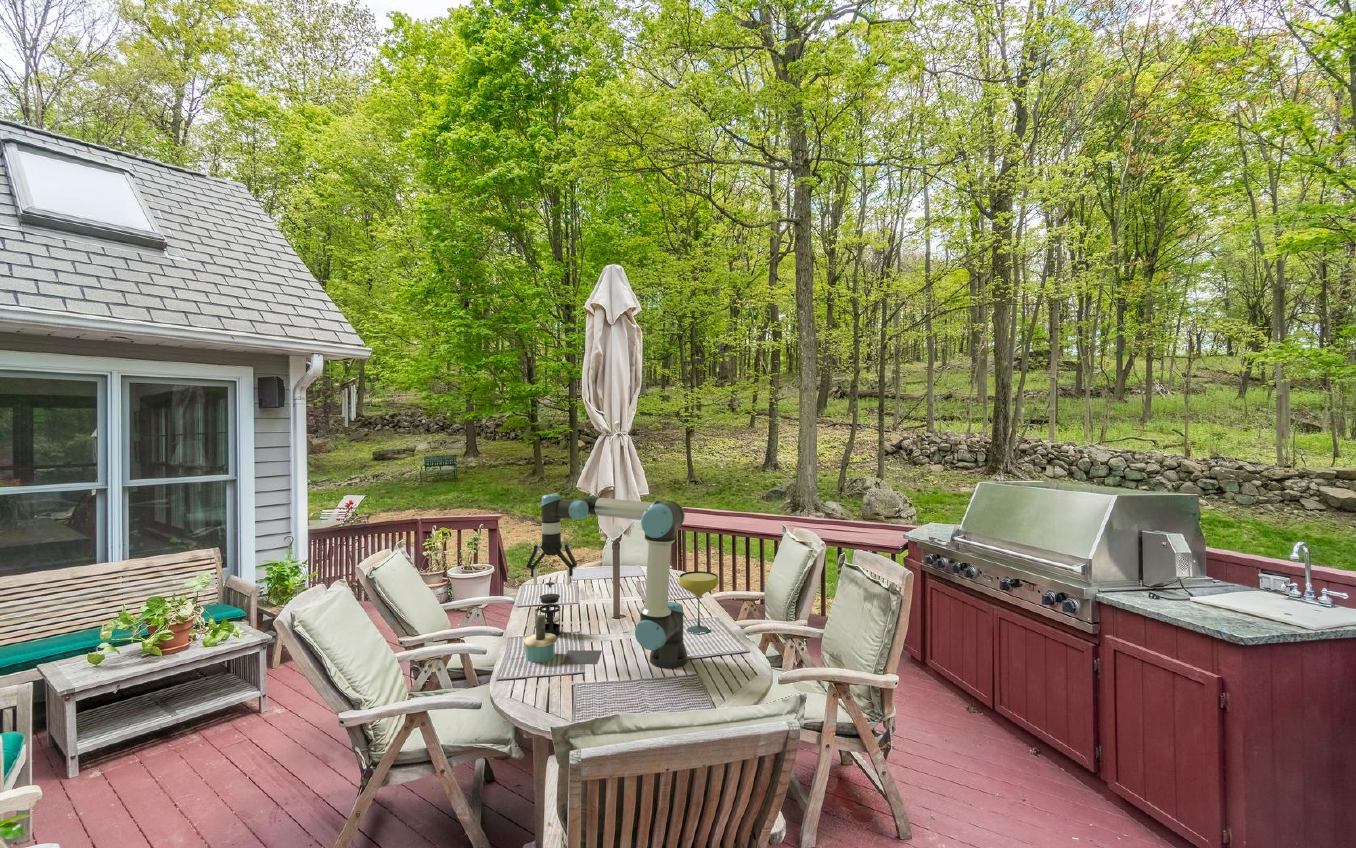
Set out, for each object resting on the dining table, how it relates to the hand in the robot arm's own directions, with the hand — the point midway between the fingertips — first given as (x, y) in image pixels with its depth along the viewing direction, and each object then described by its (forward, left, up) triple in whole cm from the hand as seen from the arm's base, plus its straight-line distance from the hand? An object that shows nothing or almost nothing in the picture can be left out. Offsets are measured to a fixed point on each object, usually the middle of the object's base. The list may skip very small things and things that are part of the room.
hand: (552, 584), depth 238 cm
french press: (+7, -26, -29) cm, 40 cm away
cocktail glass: (-61, -31, -29) cm, 74 cm away
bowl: (+4, +2, -29) cm, 30 cm away
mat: (-13, +2, -29) cm, 32 cm away
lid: (+4, +2, -22) cm, 23 cm away
